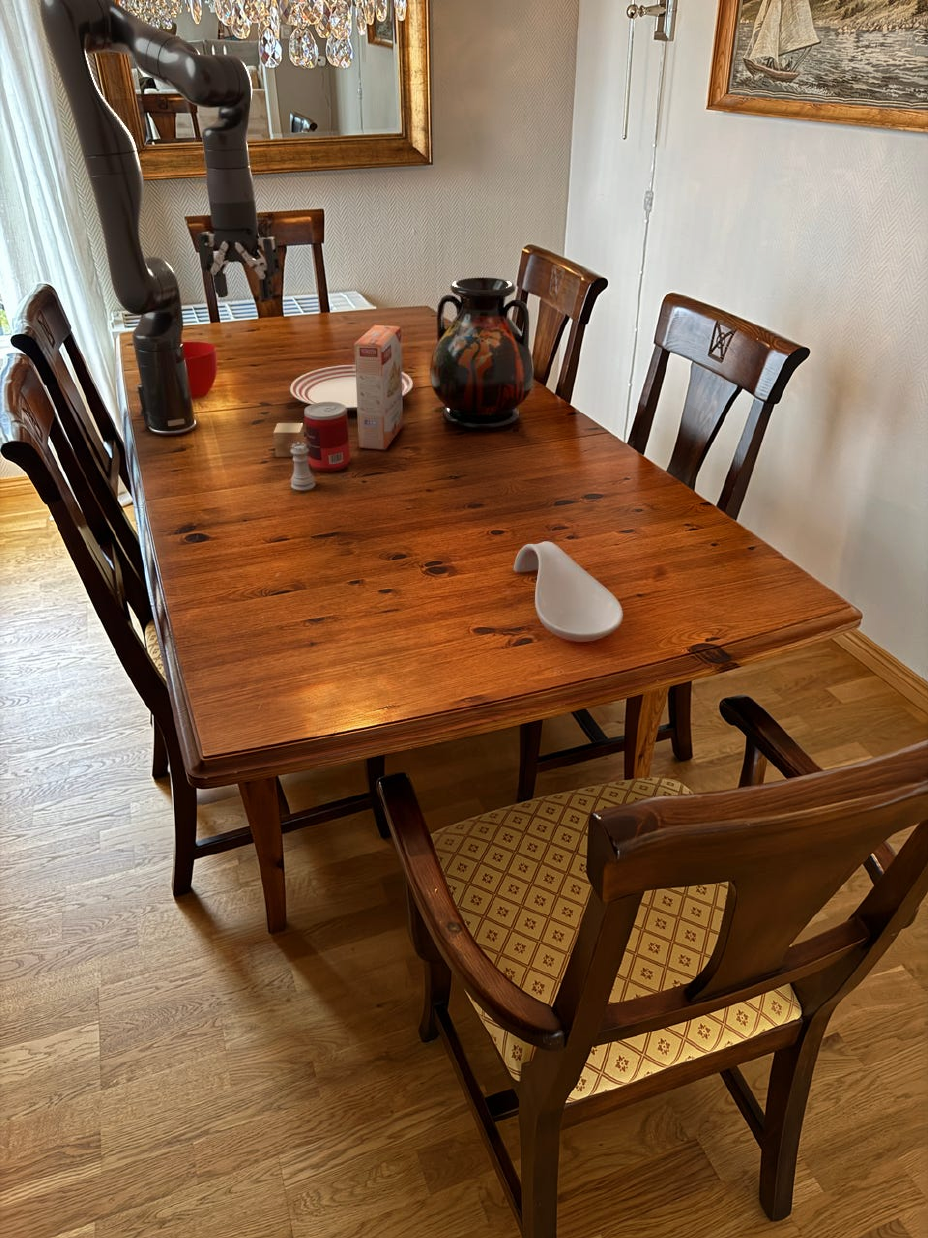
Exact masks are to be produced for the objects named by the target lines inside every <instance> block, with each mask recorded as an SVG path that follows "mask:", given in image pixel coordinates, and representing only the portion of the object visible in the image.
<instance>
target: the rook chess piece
mask: <svg viewBox="0 0 928 1238" xmlns="http://www.w3.org/2000/svg"><path fill="white" fill-rule="evenodd" d="M308 451H309V449H308V446H307V443H306V442H305V443H302V445H300V443H297V446H296V444H293V446H292V449H291V453H292V454H293V455H294V457H292V461H293V465H294V466H293V472H292V476H291V478H290V483H291V484H290V488H292V489H293V490H294V491H296V492H308V491H311V490H313V489H314V487H315V486H316V482H315V480H316V479H315V476H314V475H313V473H312V472H311V471H310V467H309V456H308Z"/></svg>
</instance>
